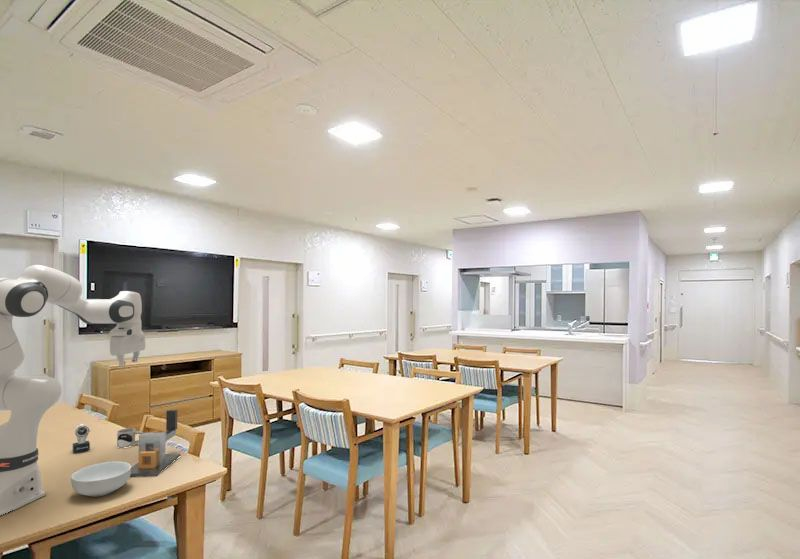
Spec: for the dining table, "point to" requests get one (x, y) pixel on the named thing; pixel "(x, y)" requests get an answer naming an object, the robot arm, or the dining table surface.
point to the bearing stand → (162, 458)
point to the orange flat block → (142, 459)
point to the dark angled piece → (170, 425)
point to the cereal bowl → (100, 478)
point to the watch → (81, 439)
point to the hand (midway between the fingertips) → (128, 363)
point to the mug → (127, 437)
